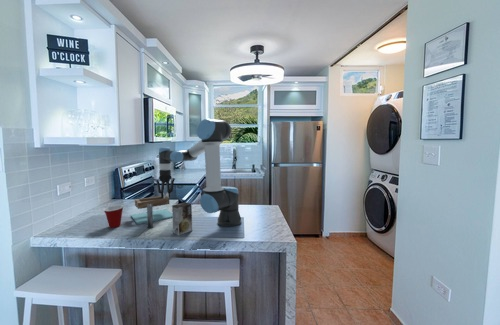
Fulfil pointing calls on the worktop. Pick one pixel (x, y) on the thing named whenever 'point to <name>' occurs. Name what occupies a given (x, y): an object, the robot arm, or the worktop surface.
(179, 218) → the coffee box
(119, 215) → the plastic cup
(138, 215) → the teal pad
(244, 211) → the worktop surface
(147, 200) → the walnut link
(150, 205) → the metal post
